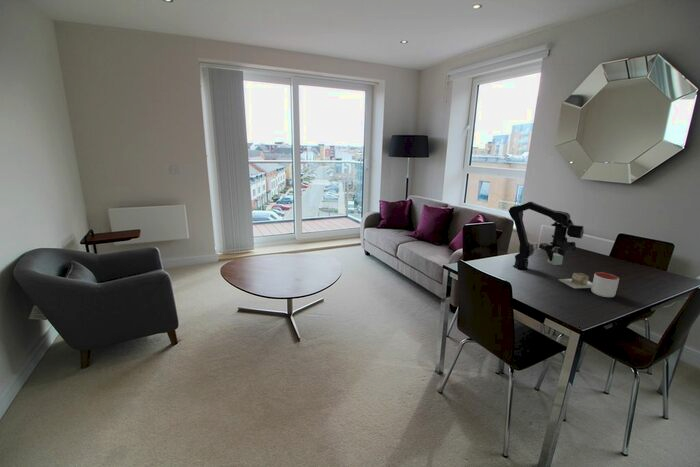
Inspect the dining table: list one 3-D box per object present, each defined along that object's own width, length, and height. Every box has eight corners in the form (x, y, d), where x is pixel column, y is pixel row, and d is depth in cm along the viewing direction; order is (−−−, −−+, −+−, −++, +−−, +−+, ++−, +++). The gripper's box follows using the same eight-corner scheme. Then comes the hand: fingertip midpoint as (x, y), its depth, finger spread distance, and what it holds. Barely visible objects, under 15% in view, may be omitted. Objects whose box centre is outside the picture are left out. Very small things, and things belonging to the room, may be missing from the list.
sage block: (553, 264, 182) (555, 256, 181) (547, 261, 187) (548, 253, 186) (561, 264, 183) (563, 256, 182) (555, 261, 188) (556, 253, 187)
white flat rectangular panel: (574, 288, 171) (574, 288, 171) (557, 279, 183) (557, 279, 183) (601, 287, 173) (601, 287, 173) (583, 279, 184) (583, 278, 184)
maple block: (578, 285, 175) (580, 276, 174) (571, 281, 180) (573, 273, 179) (586, 284, 176) (588, 276, 174) (579, 281, 180) (581, 272, 179)
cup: (610, 291, 169) (614, 273, 166) (618, 299, 160) (623, 281, 157) (587, 288, 172) (591, 271, 169) (594, 296, 163) (598, 278, 160)
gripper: (554, 239, 172) (549, 266, 176) (586, 238, 174) (580, 265, 178) (540, 233, 183) (536, 259, 187) (570, 233, 185) (565, 258, 189)
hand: (554, 261), depth 185 cm, fingers closed on sage block, 5 cm apart
